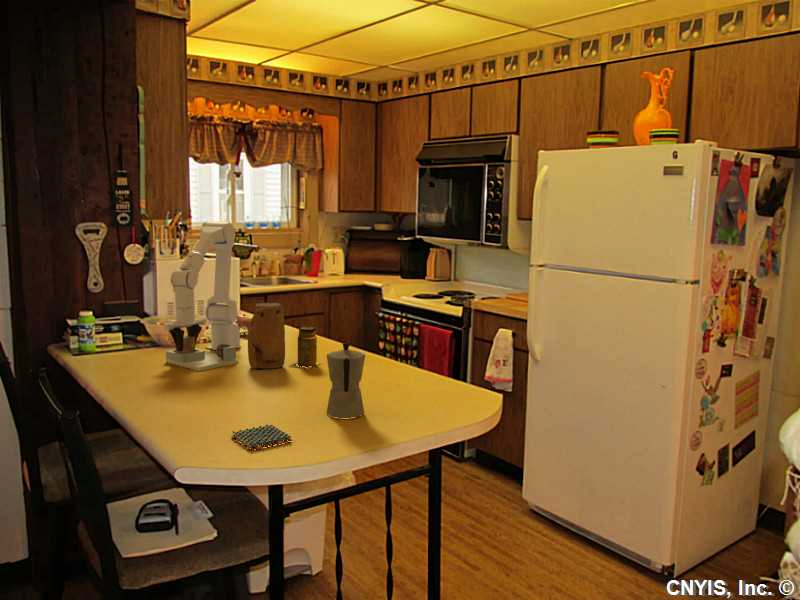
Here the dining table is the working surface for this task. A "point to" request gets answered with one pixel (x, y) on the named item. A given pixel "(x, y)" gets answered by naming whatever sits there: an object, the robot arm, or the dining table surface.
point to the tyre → (221, 350)
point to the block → (267, 337)
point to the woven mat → (261, 437)
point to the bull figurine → (243, 321)
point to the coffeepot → (345, 383)
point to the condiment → (306, 347)
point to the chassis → (202, 358)
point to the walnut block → (188, 345)
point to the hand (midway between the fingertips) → (185, 349)
